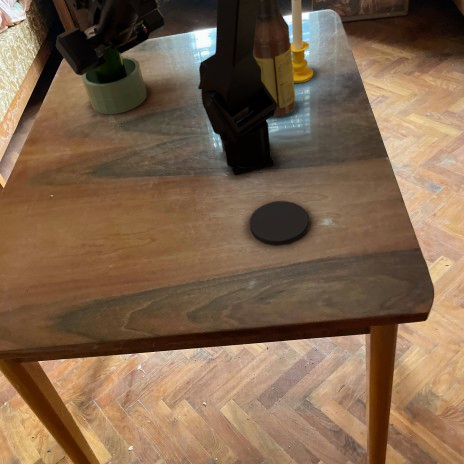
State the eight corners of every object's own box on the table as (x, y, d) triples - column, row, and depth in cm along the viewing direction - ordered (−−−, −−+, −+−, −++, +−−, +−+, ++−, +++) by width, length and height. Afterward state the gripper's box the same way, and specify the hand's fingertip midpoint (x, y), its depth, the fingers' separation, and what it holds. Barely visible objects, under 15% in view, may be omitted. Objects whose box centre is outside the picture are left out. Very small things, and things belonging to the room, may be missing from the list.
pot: (143, 79, 102) (135, 51, 98) (150, 105, 95) (142, 76, 91) (90, 92, 102) (80, 64, 97) (94, 119, 95) (83, 91, 91)
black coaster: (297, 199, 74) (297, 195, 73) (316, 236, 69) (316, 231, 68) (243, 213, 73) (243, 209, 73) (258, 251, 68) (258, 247, 68)
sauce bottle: (293, 97, 91) (287, -31, 75) (297, 116, 87) (292, -15, 71) (256, 102, 91) (243, -24, 76) (258, 122, 87) (245, -7, 72)
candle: (280, 81, 95) (274, -13, 83) (291, 67, 97) (287, -26, 85) (306, 84, 93) (304, -11, 81) (317, 70, 95) (317, -25, 83)
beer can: (112, 107, 96) (89, 41, 87) (100, 97, 99) (77, 32, 90) (137, 96, 97) (118, 30, 88) (125, 86, 100) (105, 21, 91)
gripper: (135, -64, 82) (115, 0, 96) (36, -19, 75) (30, 42, 89) (178, 0, 84) (152, 52, 98) (86, 49, 77) (72, 98, 91)
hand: (103, 59), depth 94 cm, fingers closed on beer can, 5 cm apart
